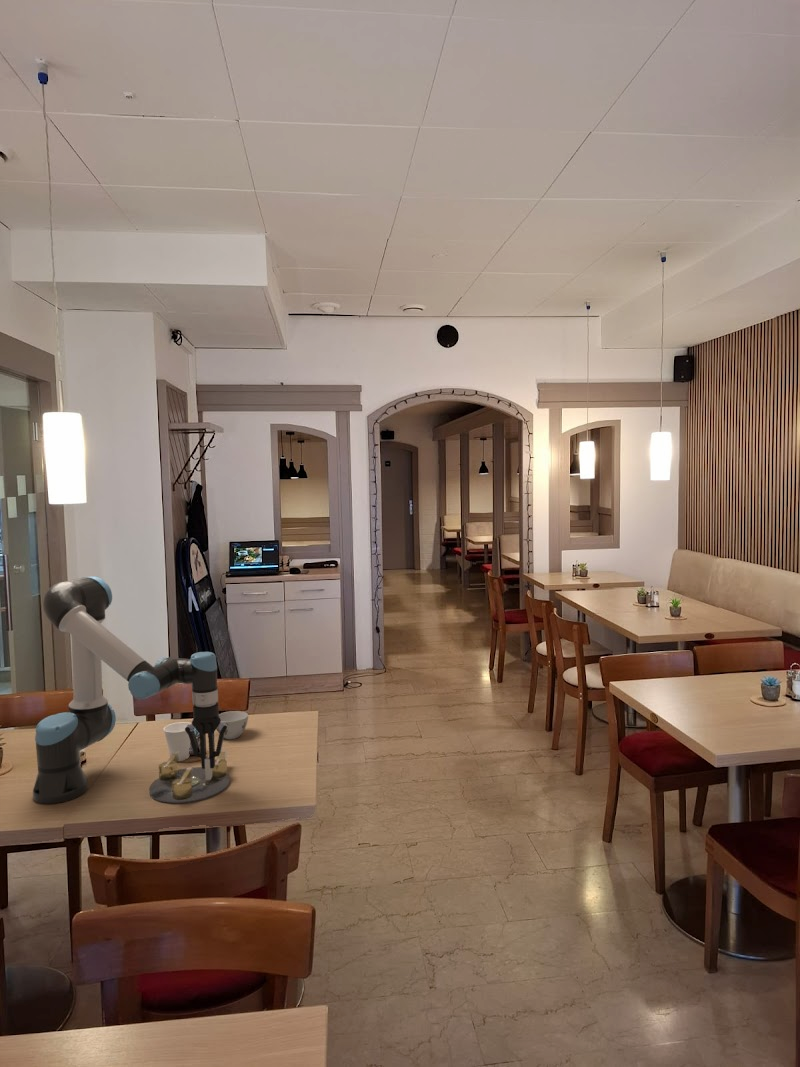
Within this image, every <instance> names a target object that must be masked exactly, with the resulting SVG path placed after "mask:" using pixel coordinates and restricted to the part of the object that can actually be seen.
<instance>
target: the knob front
mask: <svg viewBox="0 0 800 1067" xmlns="http://www.w3.org/2000/svg"><path fill="white" fill-rule="evenodd" d="M193 768H194V767H193V766H190V767H189V766H188V767H187V768H185V769H186V771H185V773H184V774H183V776H182V778H180V779H177V780H175V781H173V782H172V793H173V798H175V799H185V798H188V797H190V796H191V795H192V780H191V778H192V776H193Z"/></svg>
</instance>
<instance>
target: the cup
mask: <svg viewBox="0 0 800 1067" xmlns="http://www.w3.org/2000/svg"><path fill="white" fill-rule="evenodd" d="M191 723H192V722H188V721H178V722H173V723H170V724H166V726H164V727H163V729H162V730H163V732H164V736H165V740H166V745H167V748H168V749H167V750H168V752H169V758H170V757H171V755H172V754H173V752H176V751H179V760H178V761H177V762H182V761H186V760H187V759H188V758H189V757H190V754H189V748H190V749H191V745H190V738H189V735H188V734H187V732H186V731H185V728H186V727H187V725H190V724H191ZM185 759H186V760H185Z"/></svg>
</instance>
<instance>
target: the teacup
mask: <svg viewBox="0 0 800 1067" xmlns="http://www.w3.org/2000/svg"><path fill="white" fill-rule="evenodd" d="M219 718H220V719H221V722H222V723H224V724H226V723H227V724H228V727H227V729H226V731H225V734H224V739H226V740H235V739H238V738H239V737H240V736H241V735H242V734H243V732H244V731H245V729H246V727H247V725H248V721H249V720H248V719H249V714H248V713H247V712H245V711H241V710H235V711H233V710H231V711H225V712H221V713H219ZM219 728H220V726H218V727H217V728H216V730H215V731H217V733H218V735H219V734H220V731H221V730H220V729H219Z"/></svg>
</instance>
